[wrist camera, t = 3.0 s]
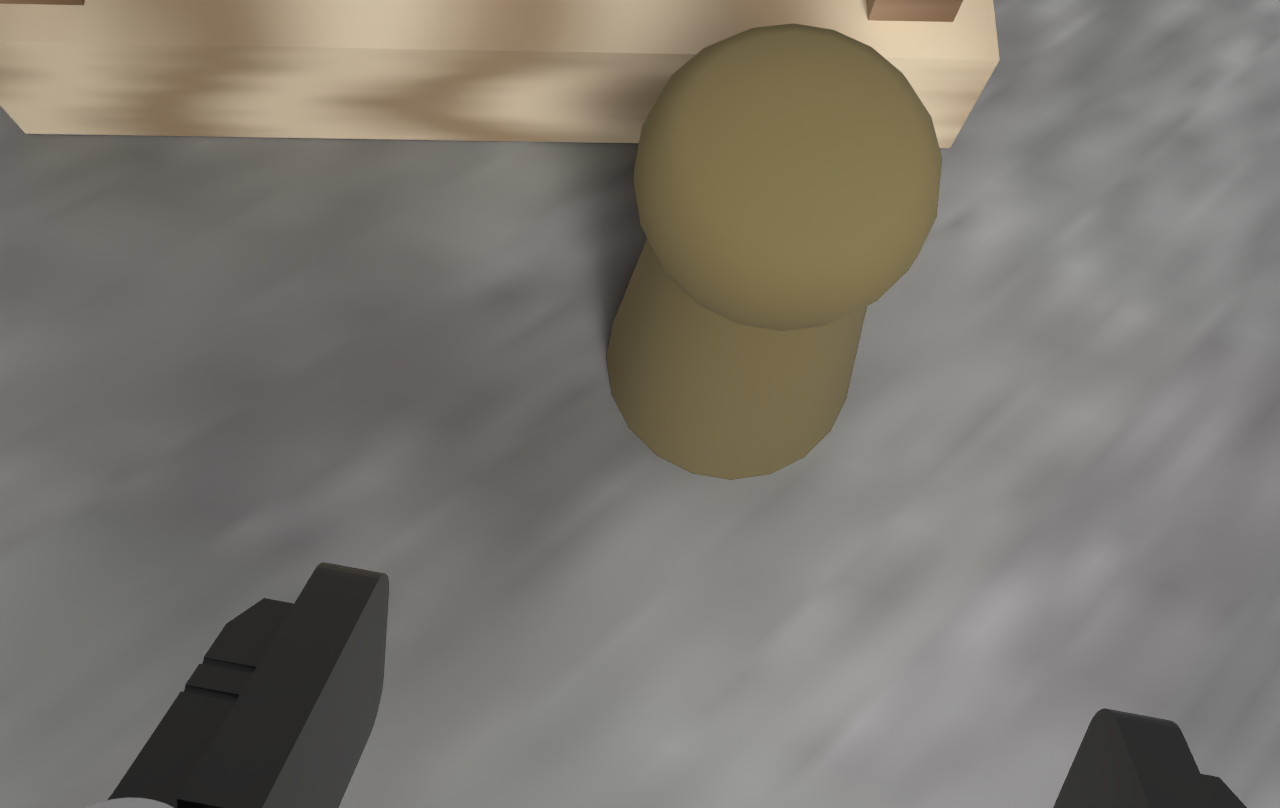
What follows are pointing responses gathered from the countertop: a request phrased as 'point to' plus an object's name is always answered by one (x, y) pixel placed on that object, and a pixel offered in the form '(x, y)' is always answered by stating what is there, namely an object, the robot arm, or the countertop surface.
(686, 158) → the cork
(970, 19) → the wooden slotted rack
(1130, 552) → the countertop surface
